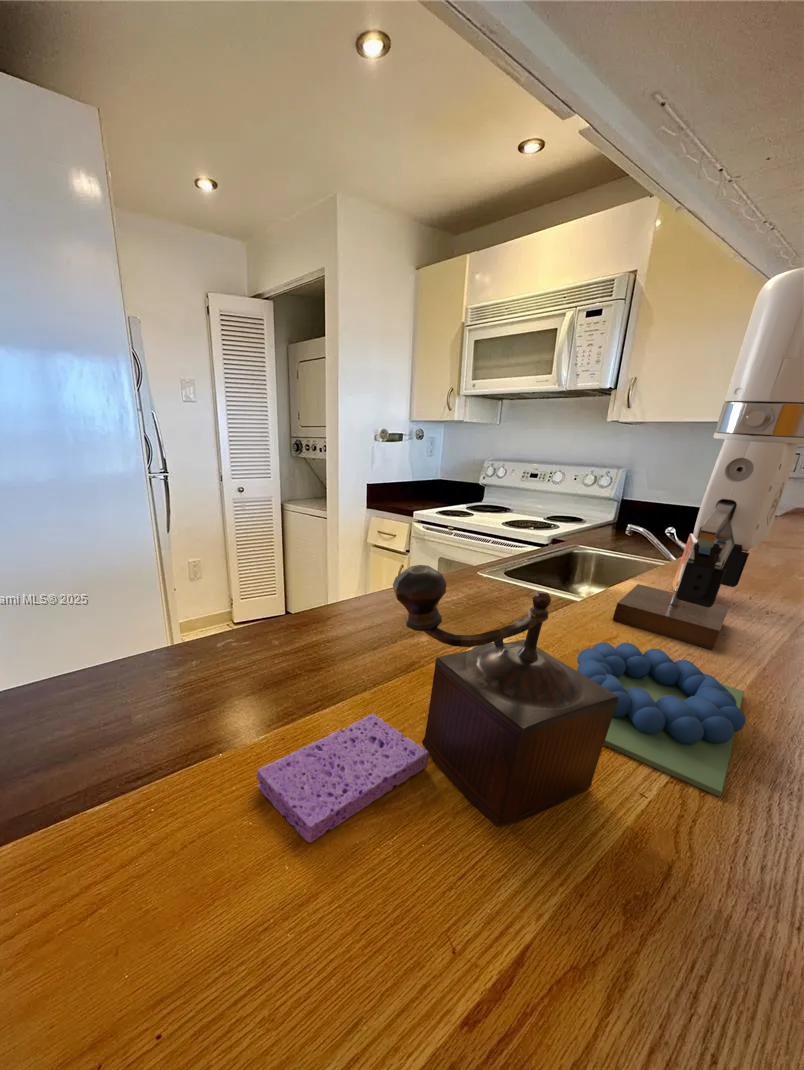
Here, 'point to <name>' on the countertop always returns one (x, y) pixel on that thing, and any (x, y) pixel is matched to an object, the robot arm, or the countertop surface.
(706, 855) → the countertop surface
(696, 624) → the platform
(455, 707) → the dark brown coffee grinder
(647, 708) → the ring
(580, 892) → the countertop surface
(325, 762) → the sponge
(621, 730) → the mat
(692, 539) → the small box
